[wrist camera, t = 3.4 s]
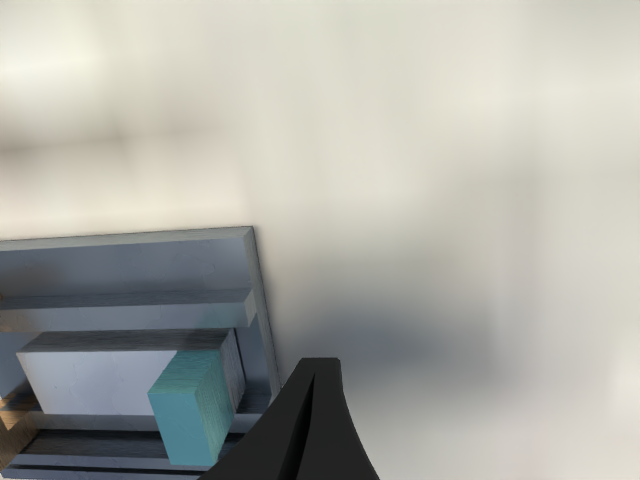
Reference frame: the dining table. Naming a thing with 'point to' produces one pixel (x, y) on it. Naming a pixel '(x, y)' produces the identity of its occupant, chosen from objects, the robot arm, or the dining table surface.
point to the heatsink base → (124, 314)
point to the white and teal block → (144, 381)
